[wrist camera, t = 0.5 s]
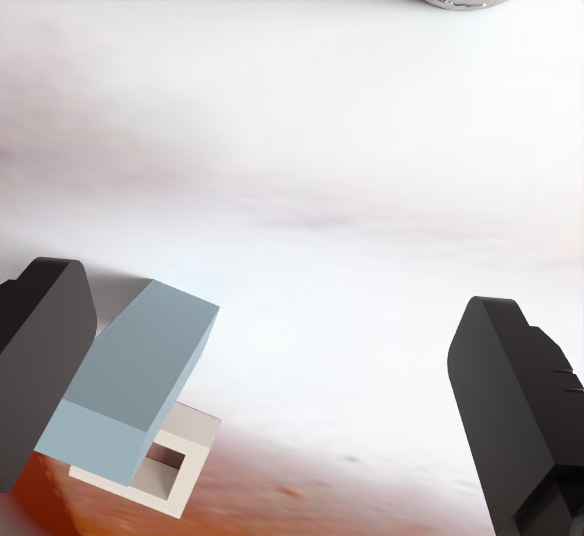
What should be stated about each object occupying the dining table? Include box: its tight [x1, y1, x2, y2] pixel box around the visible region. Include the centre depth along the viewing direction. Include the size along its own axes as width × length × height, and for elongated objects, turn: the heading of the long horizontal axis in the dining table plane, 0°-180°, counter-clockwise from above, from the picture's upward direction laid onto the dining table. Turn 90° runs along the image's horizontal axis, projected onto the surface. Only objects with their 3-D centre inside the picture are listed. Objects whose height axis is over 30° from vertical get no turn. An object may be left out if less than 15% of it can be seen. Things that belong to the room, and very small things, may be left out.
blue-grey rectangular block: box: [34, 279, 220, 487], centre depth 26 cm, size 4×5×12 cm
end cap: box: [69, 402, 221, 519], centre depth 36 cm, size 9×10×3 cm
